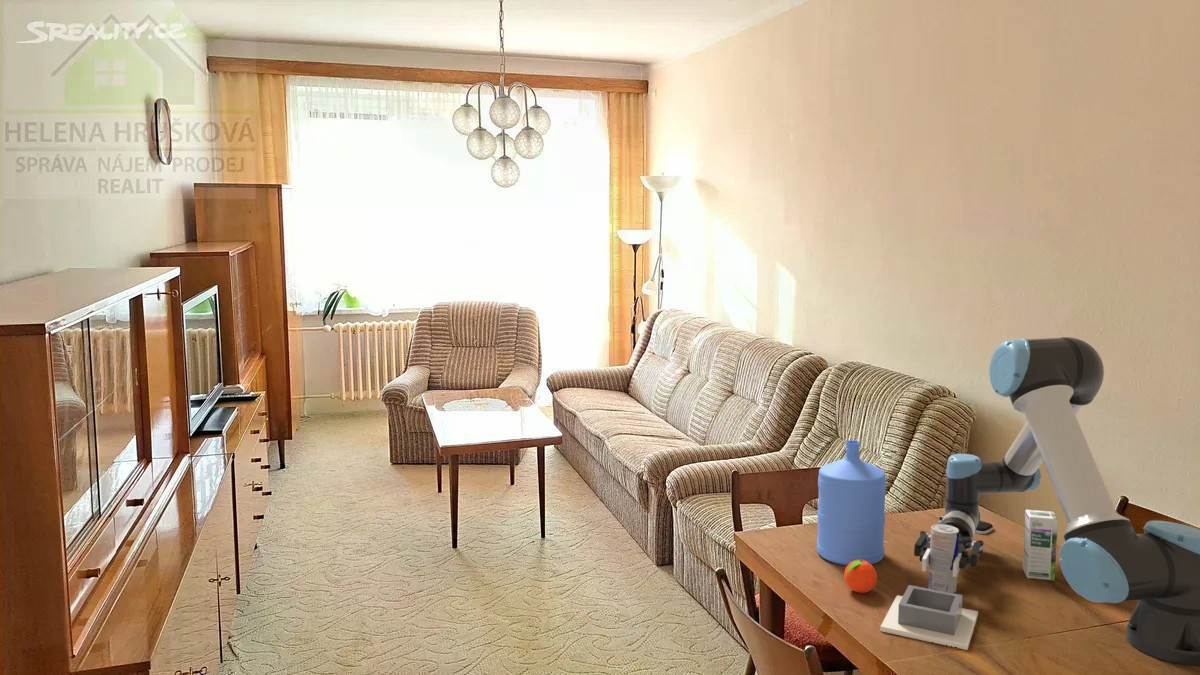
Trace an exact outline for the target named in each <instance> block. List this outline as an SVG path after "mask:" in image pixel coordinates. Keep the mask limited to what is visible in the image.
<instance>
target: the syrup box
mask: <svg viewBox="0 0 1200 675" xmlns="http://www.w3.org/2000/svg"><path fill="white" fill-rule="evenodd" d="M1057 517H1058V516H1057V515H1056V514H1055V512H1054V511H1053V510H1052V511H1051V510H1050V511H1048V510H1047V511H1046V510H1034V509H1025V513H1024V534H1023V536H1024V538H1023V539H1024V540H1023V556H1022V558H1023V560H1022V561H1023V562H1022V569H1023V571H1024V572H1023V573H1024V574H1025V576H1026V578H1027V579H1035V580H1036V579H1037V580H1045V581H1052V582H1053V581H1055V578H1056V564H1057V563H1056V561H1057V560H1056V559H1057V541H1058V526H1059V525H1058V524H1059V523H1058V520H1059V518H1057Z"/></svg>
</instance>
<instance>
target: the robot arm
mask: <svg viewBox="0 0 1200 675" xmlns="http://www.w3.org/2000/svg"><path fill="white" fill-rule="evenodd" d="M1104 375H1105V370H1104V364H1103V360H1102V358H1101V355H1100V354H1099V353H1098V351H1097V350H1096V349H1095V348H1094V347H1093V346H1092V345H1091V344H1089V343H1088V342H1086V341H1084V340H1083V339H1079V338H1076V337H1071V336H1070V337H1068V336H1067V337H1065V336H1064V337H1059V338H1058V337H1052V338H1050V337H1049V338H1048V337H1047V338H1028V339H1027V338H1021V337H1020V338H1018V339H1010V340H1006V341H1003V342H1001V343H1000V344H999V345H998V346H997V347H996V348H995V350H994V352H993V353H992V356H991V358H990V363H989V381H990V385H991V387H992V389H993V391H994V392H995V393H996V394H997V395H999V396H1001V397H1004V398H1008V397H1009V400H1010V402H1011V404H1012V407H1013V409H1014V410H1015V411H1017V412H1019V413H1022V414H1023V415H1024V416H1025V419H1026V421H1025V424H1024V425H1023V427H1022V428H1021V429H1020V431H1019V433H1018V434H1017V436H1016V437H1015V439H1014V440H1013V442H1012V444H1011V445H1010V447H1009V449H1008V450H1007V452H1006V453H1005V455H1004V456H1003V458H1002V459H1001V460H999V461H987V462H985V461H984V462H983V461H982V460H981V458H980V457H979V456H977V455H974V454H971V453H970V454H969V453H953V454H952V455H950V456H949V457H948V458H947V462H946V469H945V471H946V472H945V477H946V484H945V485H946V488H945V493H946V494H945V505H944V514H943V515H944V517H943V519H942V521H941V522H940V523H939V524H945V525H950V526H953V527H956V528H957V529H958V530H959V532H958V533H959V545H958V556H957V557H956V558H955V561H954V563H953V577H957V578H958V575H959V572H960V570H965V569H966V567H967V566H968V565H970V566H971V567H977V566H978V560H979V557H980V555H981V554H983V553H984V541H983V540H979V539H978V540H977V541H976V540H974V541H973V537H974V534H976V533H975V530H976V528H977V526H978V524H979V522H980V521H981V511H980V508H979V507H980V500H981V499H980V498H981V495H988V494H989V495H990V494H991V495H992V494H1002V493H1003V494H1004V493H1005V494H1006V493H1024V492H1029V491H1034V490H1036V489H1037V488H1038V487H1039V486H1040V484H1041V481H1040V479H1042V475H1041V469H1040V466H1041V465H1042V464H1044V467H1045V469H1046V471H1047V474H1048V476H1049V479H1050V482H1051V484H1052V487H1053V489H1054V492H1055V495H1056V497H1057V499H1058V502H1059V505H1060V507H1061V509H1062V510H1061V511H1063V512H1062V513H1063V515H1064V517H1065V519H1066V523H1067V527H1066V529H1065V532H1064V533H1063V538H1064V542H1063V543H1062V545H1061V546H1060V548H1059V556H1060V558H1059V565H1060V566H1059V567H1060V570H1061V571H1062V572H1061V573H1062V575H1063V577H1064V578H1065V580H1066V582H1067V584H1068V585H1069V587H1070V588H1071V589H1072V590H1073V591H1074V592H1075V593H1076V594H1077V595H1079V596H1080V597H1083V598H1084V599H1085V600H1086V601H1089V602H1091V603H1092V602H1093V603H1098V604H1099V603H1110V604H1119V603H1121V602H1128V601H1138V602H1137V604H1136V605H1135V607H1134V609H1133V612H1132V613H1131V615H1130V617H1129V619H1128V621H1127V623H1126V631H1125V632H1126V633H1125V637H1126V639H1127V641H1128V642H1129V644H1130V645H1131V646H1133V647H1134V648H1135V649H1137V650H1138V651H1140V652H1142V653H1145V654H1147V655H1149V656H1151V657H1154V658H1155V659H1160V660H1163V661H1166V662H1169V663H1174V664H1180V665H1187V666H1197V667H1198V666H1200V529H1199V528H1196V527H1192V526H1189V525H1185V524H1181V523H1176V522H1171V521H1165V520H1149V521H1147V522H1146V523H1145V524H1144V527H1143V530H1144V533H1136V531H1135V528H1134V527H1133V524H1132V522H1131V520H1130V519H1129V518H1128V517H1125V516H1123V515H1121V514H1119V513H1118V512H1117V509H1116V508H1115V505H1114V503H1113V501H1112V498H1111V495H1110V493H1109V490H1108V489H1107V487H1106V486H1107V485H1106V484H1105V481H1104V480H1103V477H1102V475H1101V472H1100V470H1099V468H1098V465H1097V462H1096V460H1095V458H1094V456H1093V454H1092V451H1091V448H1090V446H1089V444H1088V442H1087V439H1086V437H1085V434H1084V433H1083V431H1082V428H1081V426H1080V423H1079V420H1078V418H1077V417H1076V415H1078V414H1077V413H1078V412H1079V411H1080V410H1081V408H1082V407H1085V406H1087V405H1089V404H1091V402H1093V400H1094V399H1095V397H1096V396H1097V394H1098V393H1099V392H1100V390H1101V387H1102V385H1103V381H1104V377H1105V376H1104ZM930 539H931V534H929V533H927V532H926V531H924V530H920V532H919V537H918V539H917V540H916V541H915V542H914V546H913V548H914V549H913V550H914V552H913V555H914V556H915V557H919V558H918V560H919V562H921V571H922V572H926V571H927V569H928V568H929V561H930ZM967 549H971V552H970V555H969V551H968V550H967Z"/></svg>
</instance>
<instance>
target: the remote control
mask: <svg viewBox="0 0 1200 675" xmlns="http://www.w3.org/2000/svg"><path fill="white" fill-rule="evenodd" d="M944 515H945V514H943V515H941V516H939V518H938V524H940V522H941V521H942V519H943V517H944ZM993 529H994V525H993V524H992V523H990V522H988V521H987V522H986V521H982V520H980V522H979V524H978V526H977V528H976V530H975V533H974V534H979V535H986V534H988V533H990V532H992V531H993Z"/></svg>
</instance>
